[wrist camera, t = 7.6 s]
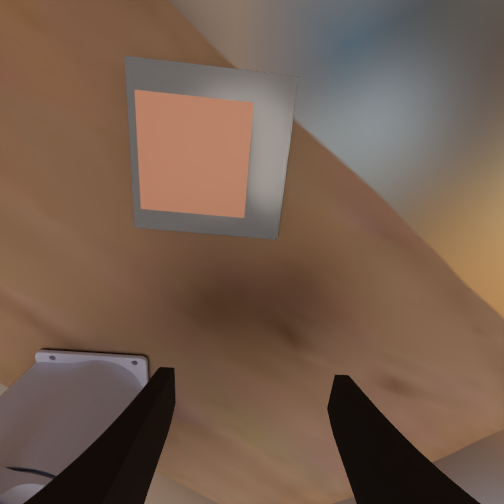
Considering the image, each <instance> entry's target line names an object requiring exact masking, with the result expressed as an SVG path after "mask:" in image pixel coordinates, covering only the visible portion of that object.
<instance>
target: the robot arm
mask: <svg viewBox="0 0 504 504" xmlns="http://www.w3.org/2000/svg"><path fill="white" fill-rule="evenodd" d="M35 359H36V363H35V364H34V365H33V366H32V367H31V368H30V369H29V370H27V371H26V372H25V373H24V374H23V375H22V376H21V377H20V378H19V379H18V380H17V381H16V382H15V383H14V384H13V385H12V386H10V387H9V388H8V389H7V390H6V391H5V392H4V393H3V394H2V395H1V396H0V504H144V502H145V499H146V496H147V492H148V489H149V487H150V484H151V481H152V478H153V475H154V472H155V469H156V466H157V463H158V461H159V458H160V455H161V452H162V449H163V446H164V443H165V440H166V437H167V434H168V431H169V428H170V424H171V420H172V415H173V411H174V407H175V374H174V368H168V367H160V368H159V369H158V370H157V371H156V372H155V374H154V375H153V376H152V377H151V379H150V380H149V377H148V360H147V358H146V357H144V356H135V355H119V354H103V353H87V352H71V351H55V350H39V351H38V352H37V353H36V354H35ZM135 361H137V362H135ZM327 410H328V414H329V419H330V423H331V427H332V431H333V435H334V438H335V441H336V444H337V447H338V450H339V453H340V456H341V459H342V462H343V465H344V468H345V471H346V473H347V476H348V479H349V482H350V485H351V488H352V491H353V494H354V497H355V500H356V503H357V504H480V503H479V502H477V501H476V500H475V499H474V498H472V497H471V496H470V495H469V494H468V493H466V492H465V491H464V490H463V489H462V488H460V487H459V486H458V485H457V484H455V483H454V482H453V481H452V480H451V479H449V478H448V477H447V476H446V475H445V474H444V473H442V472H441V471H440V470H439V469H438V468H437V467H436V466H435V465H434V464H432V463H431V462H430V461H429V460H428V459H427V458H426V457H425V456H424V455H423V454H421V453H420V452H419V451H418V450H417V449H416V448H415V447H414V446H413V445H412V444H411V443H410V442H409V441H408V440H407V439H406V438H405V437H404V436H403V435H402V434H401V433H400V432H399V431H398V430H397V429H396V428H395V427H394V426H393V425H392V424H391V423H390V422H389V420H388V419H387V418H386V417H385V416H384V415H383V414H382V413H381V412H380V411H379V410H378V409H377V407H376V406H375V405H374V404H373V403H372V402H371V401H370V400H369V398H368V397H367V396H366V395H365V394H364V393H363V392H362V390H361V389H360V388H359V387H358V386H357V385H356V383H355V382H354V381H353V380H352V379H351V378H350V377H349V376H348V375H335V377H334V381H333V386H332V390H331V394H330V399H329V403H328V407H327Z"/></svg>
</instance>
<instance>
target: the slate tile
mask: <svg viewBox="0 0 504 504" xmlns="http://www.w3.org/2000/svg"><path fill="white" fill-rule="evenodd" d="M124 58H125V75H126V91H127V107H128V124H129V140H130V156H131V173H132V189H133V205H134V222H135V228H146V229H158V230H169V231H181V232H192V233H204V234H216V235H227V236H239V237H251V238H262V239H274V240H277V237H278V230H279V222H280V215H281V207H282V199H283V192H284V184H285V177H286V169H287V162H288V154H289V146H290V139H291V131H292V124H293V116H294V109H295V101H296V93H297V86H298V78H299V76H292V75H284V74H276V73H266V72H259V71H250V70H242V69H233V68H225V67H216V66H207V65H199V64H190V63H182V62H173V61H165V60H156V59H148V58H139V57H130V56H124ZM135 90H143V91H152V92H161V93H170V94H180V95H189V96H198V97H207V98H216V99H226V100H235V101H244V102H253V103H254V106H253V118H252V130H251V142H250V154H249V166H248V178H247V190H246V202H245V214H244V218H238V217H227V216H215V215H204V214H193V213H181V212H170V211H158V210H147V209H141V202H140V184H139V165H138V146H137V128H136V109H135Z"/></svg>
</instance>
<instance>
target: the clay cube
mask: <svg viewBox="0 0 504 504" xmlns="http://www.w3.org/2000/svg"><path fill="white" fill-rule="evenodd" d="M253 106H254V103H253V102H244V101H235V100H226V99H216V98H207V97H198V96H189V95H180V94H170V93H161V92H152V91H143V90H135V109H136V128H137V146H138V165H139V184H140V202H141V209H147V210H158V211H170V212H181V213H193V214H204V215H215V216H227V217H238V218H244V214H245V202H246V190H247V178H248V166H249V154H250V142H251V130H252V118H253Z"/></svg>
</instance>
